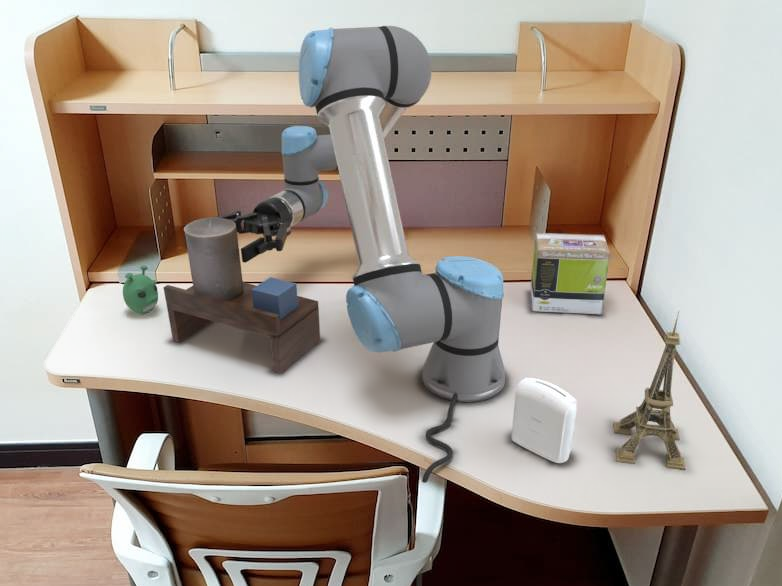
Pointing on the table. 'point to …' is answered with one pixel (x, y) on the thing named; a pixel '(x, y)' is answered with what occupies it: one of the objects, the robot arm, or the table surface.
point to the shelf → (246, 321)
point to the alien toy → (140, 292)
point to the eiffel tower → (654, 412)
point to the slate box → (275, 296)
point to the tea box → (569, 273)
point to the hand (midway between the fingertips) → (214, 249)
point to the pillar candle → (214, 257)
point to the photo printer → (544, 419)
